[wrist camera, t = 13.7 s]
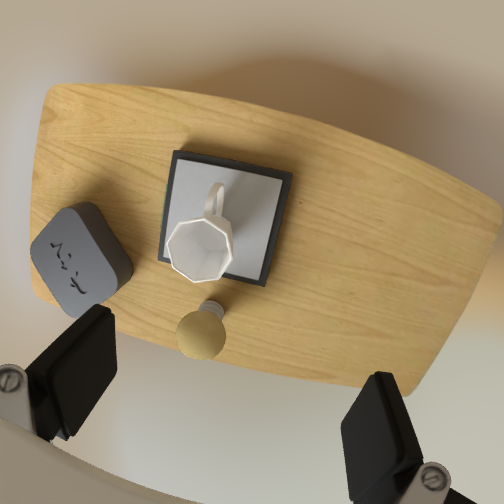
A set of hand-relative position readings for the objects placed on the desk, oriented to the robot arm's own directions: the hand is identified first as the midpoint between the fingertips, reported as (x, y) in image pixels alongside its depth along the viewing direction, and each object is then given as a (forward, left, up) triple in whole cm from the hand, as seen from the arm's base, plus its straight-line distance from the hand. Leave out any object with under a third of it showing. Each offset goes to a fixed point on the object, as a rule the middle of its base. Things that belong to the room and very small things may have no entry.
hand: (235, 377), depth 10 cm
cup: (+2, -6, -28) cm, 29 cm away
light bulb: (+16, -5, -31) cm, 35 cm away
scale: (+2, -6, -30) cm, 31 cm away
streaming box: (+13, -27, -31) cm, 43 cm away
